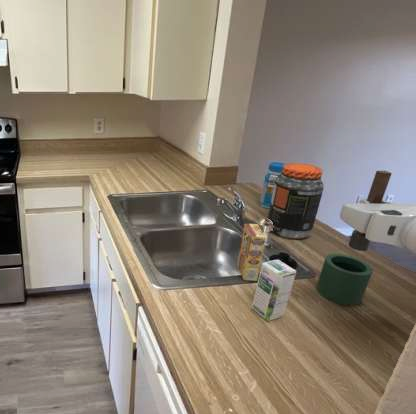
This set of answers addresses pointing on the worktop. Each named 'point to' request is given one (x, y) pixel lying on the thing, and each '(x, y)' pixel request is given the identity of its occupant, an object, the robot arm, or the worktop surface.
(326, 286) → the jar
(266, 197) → the beverage bottle
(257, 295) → the syrup box
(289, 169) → the supplement tub
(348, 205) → the robot arm
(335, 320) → the worktop surface
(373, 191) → the brush
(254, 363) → the worktop surface
